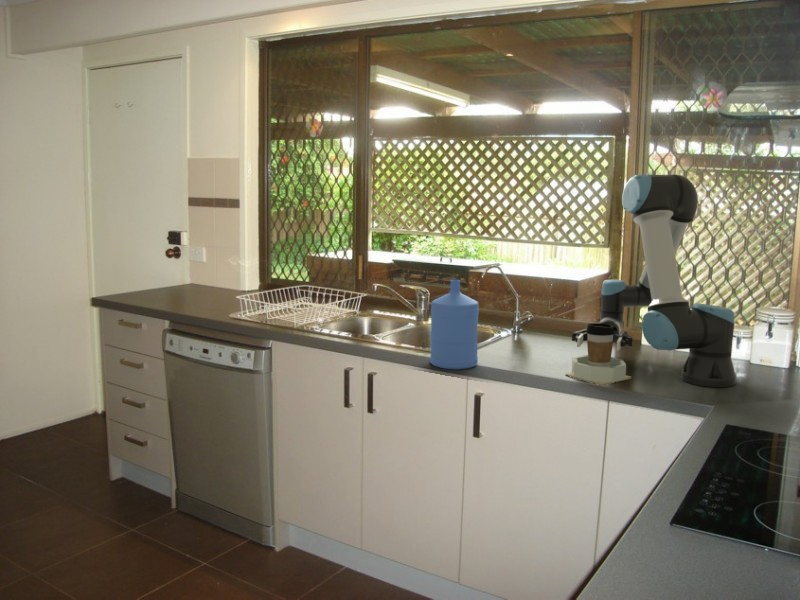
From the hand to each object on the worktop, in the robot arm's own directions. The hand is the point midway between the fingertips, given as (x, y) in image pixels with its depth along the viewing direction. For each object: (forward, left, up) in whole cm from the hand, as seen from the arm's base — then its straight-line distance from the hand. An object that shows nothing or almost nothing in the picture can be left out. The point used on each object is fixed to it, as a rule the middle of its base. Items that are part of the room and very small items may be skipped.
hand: (598, 344), depth 205 cm
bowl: (+2, -3, -11) cm, 12 cm away
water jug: (+40, +23, -11) cm, 47 cm away
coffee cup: (+2, -4, -10) cm, 11 cm away
